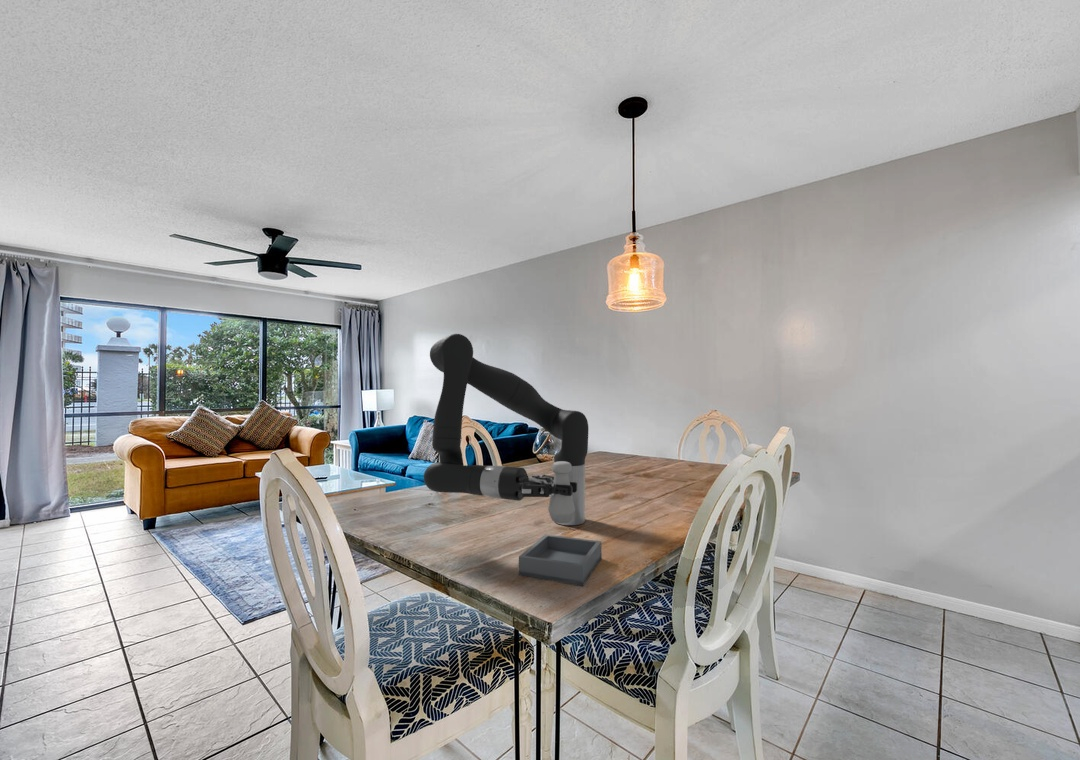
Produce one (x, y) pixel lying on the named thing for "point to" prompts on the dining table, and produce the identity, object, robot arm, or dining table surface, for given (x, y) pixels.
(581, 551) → the tray
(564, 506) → the salt shaker
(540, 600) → the dining table surface
